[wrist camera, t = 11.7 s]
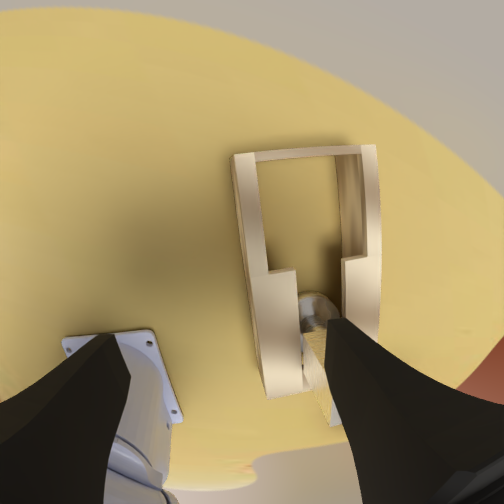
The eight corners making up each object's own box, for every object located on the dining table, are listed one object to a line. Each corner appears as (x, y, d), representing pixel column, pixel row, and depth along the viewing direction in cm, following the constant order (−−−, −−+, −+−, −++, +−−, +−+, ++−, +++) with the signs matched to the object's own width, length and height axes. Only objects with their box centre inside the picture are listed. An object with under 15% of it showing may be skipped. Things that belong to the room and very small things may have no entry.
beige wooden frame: (353, 346, 23) (374, 372, 19) (258, 368, 22) (267, 399, 19) (347, 148, 19) (375, 144, 15) (229, 158, 18) (234, 154, 14)
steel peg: (333, 337, 23) (389, 415, 14) (279, 348, 22) (316, 438, 13) (333, 286, 21) (403, 354, 12) (275, 296, 21) (318, 378, 12)
